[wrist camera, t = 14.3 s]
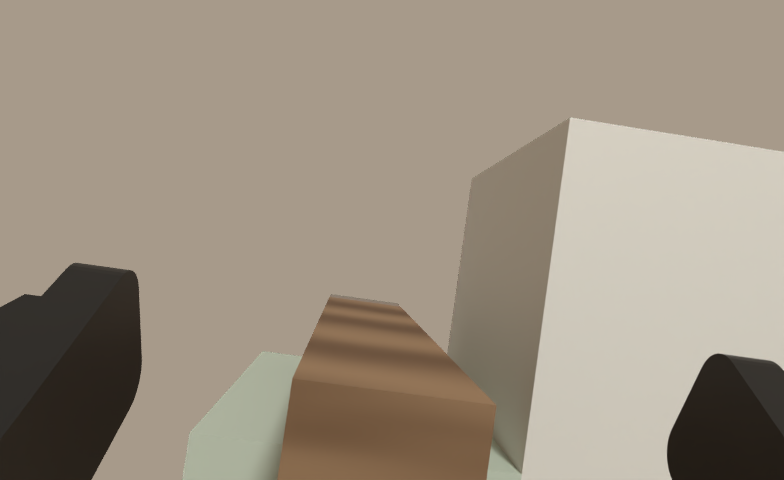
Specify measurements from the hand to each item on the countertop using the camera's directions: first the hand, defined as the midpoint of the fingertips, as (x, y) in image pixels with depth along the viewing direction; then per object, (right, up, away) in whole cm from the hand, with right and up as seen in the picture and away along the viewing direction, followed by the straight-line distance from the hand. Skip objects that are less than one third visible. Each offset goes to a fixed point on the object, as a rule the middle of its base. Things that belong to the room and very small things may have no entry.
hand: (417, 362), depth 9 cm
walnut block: (-2, -5, +14) cm, 15 cm away
